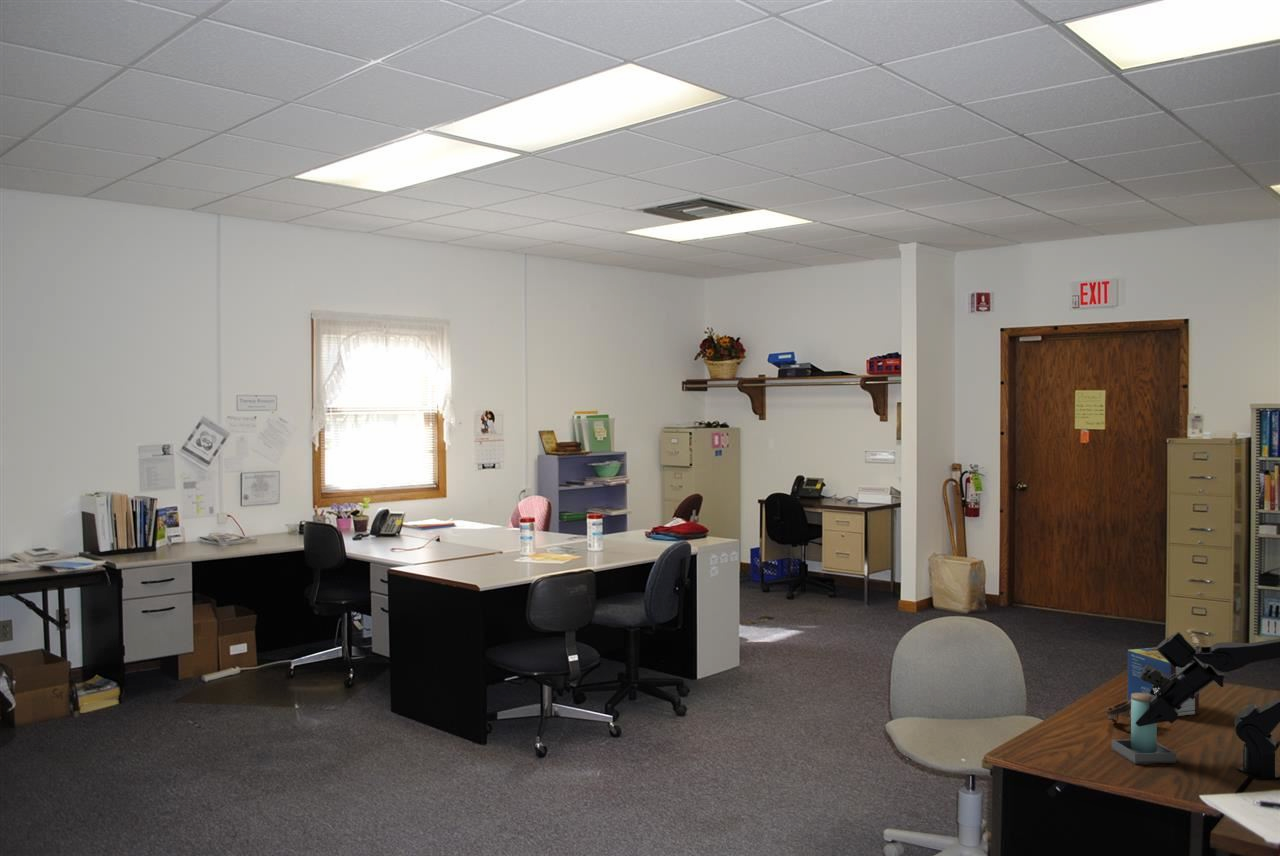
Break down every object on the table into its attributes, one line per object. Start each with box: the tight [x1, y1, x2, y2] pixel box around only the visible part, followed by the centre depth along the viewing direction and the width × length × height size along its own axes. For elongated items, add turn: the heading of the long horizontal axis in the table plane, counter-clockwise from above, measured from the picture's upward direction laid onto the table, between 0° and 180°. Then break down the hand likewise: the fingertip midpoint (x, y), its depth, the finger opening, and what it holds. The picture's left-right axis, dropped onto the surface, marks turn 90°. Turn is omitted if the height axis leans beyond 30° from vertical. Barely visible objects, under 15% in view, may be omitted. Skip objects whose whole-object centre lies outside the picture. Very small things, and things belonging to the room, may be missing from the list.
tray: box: [1110, 738, 1177, 765], centre depth 235 cm, size 10×10×2 cm
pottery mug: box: [1105, 699, 1131, 723], centre depth 258 cm, size 12×10×8 cm
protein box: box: [1127, 646, 1200, 717], centre depth 274 cm, size 10×15×16 cm
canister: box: [1130, 693, 1158, 753], centre depth 235 cm, size 6×6×13 cm
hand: (1137, 721), depth 236 cm, fingers closed on canister, 5 cm apart
